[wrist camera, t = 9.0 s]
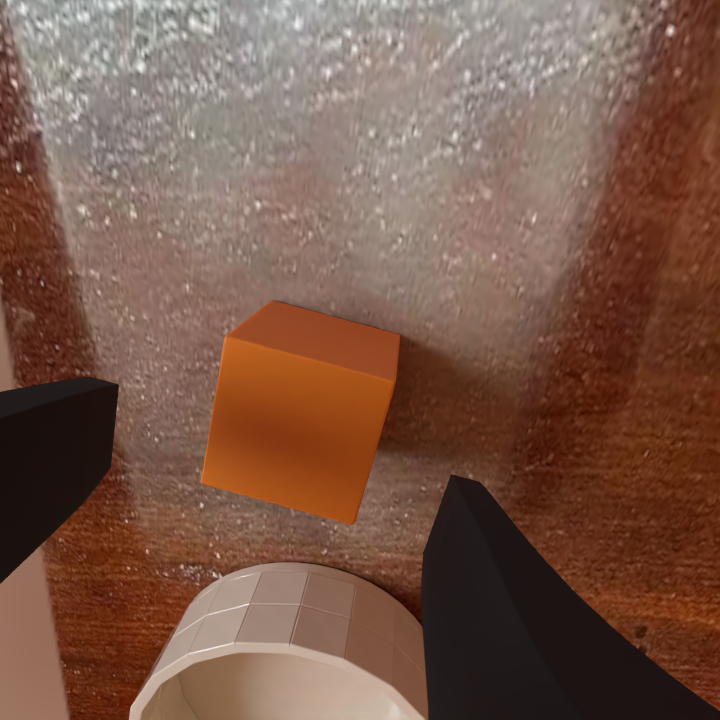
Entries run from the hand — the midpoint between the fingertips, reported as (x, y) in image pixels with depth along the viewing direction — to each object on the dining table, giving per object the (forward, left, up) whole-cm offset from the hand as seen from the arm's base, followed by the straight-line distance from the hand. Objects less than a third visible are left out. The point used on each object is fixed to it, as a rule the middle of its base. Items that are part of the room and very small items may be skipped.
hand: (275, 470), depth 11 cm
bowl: (+2, -12, -6) cm, 13 cm away
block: (0, 0, -6) cm, 6 cm away
